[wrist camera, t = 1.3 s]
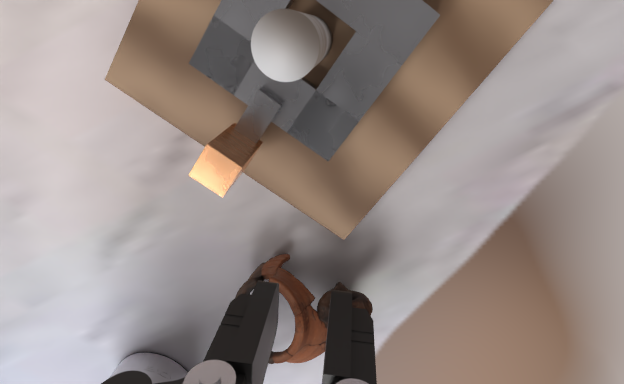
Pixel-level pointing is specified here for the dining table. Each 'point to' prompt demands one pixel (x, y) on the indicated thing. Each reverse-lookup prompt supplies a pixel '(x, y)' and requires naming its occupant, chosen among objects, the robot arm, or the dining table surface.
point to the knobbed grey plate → (301, 93)
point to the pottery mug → (301, 310)
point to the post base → (314, 66)
